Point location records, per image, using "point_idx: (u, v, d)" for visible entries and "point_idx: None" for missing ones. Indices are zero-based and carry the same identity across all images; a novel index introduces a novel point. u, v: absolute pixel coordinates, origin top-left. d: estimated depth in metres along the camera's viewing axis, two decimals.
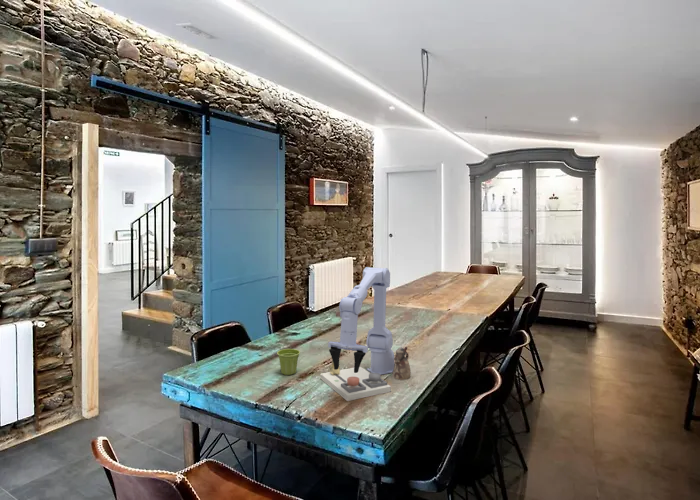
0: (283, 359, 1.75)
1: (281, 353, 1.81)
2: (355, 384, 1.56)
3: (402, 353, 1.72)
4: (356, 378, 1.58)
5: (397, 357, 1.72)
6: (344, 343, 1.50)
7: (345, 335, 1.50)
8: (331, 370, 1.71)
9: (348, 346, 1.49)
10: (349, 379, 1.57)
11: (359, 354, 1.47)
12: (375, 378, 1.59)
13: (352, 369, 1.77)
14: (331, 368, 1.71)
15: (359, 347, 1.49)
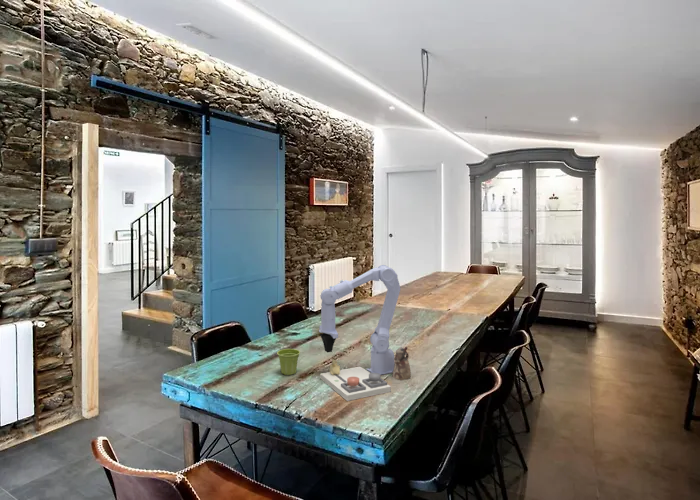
0: (283, 359, 1.75)
1: (281, 353, 1.81)
2: (355, 384, 1.56)
3: (402, 353, 1.72)
4: (356, 378, 1.58)
5: (397, 357, 1.72)
6: (321, 328, 1.75)
7: (322, 322, 1.74)
8: (331, 370, 1.71)
9: (323, 331, 1.74)
10: (349, 379, 1.57)
11: (325, 337, 1.73)
12: (375, 378, 1.59)
13: (352, 369, 1.77)
14: (331, 368, 1.71)
15: (330, 333, 1.71)
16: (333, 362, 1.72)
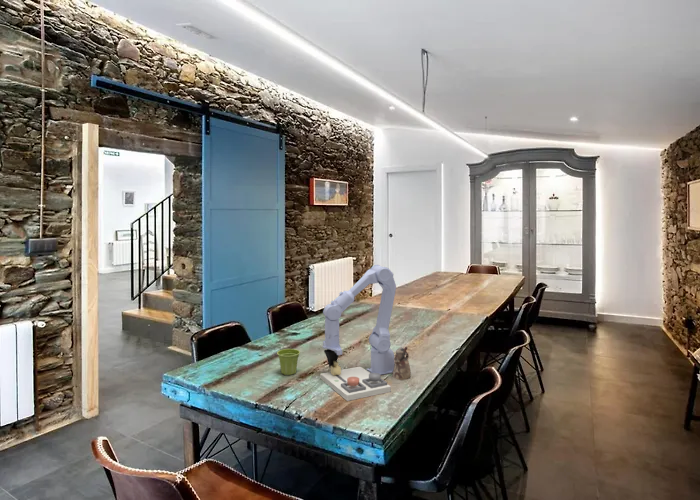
0: (283, 359, 1.75)
1: (281, 353, 1.81)
2: (355, 384, 1.56)
3: (402, 353, 1.72)
4: (356, 378, 1.58)
5: (397, 357, 1.72)
6: (325, 344, 1.72)
7: (325, 338, 1.72)
8: (332, 371, 1.70)
9: (327, 347, 1.71)
10: (349, 379, 1.57)
11: (328, 353, 1.70)
12: (375, 378, 1.59)
13: (352, 369, 1.77)
14: (332, 369, 1.70)
15: (334, 350, 1.68)
16: (334, 363, 1.71)
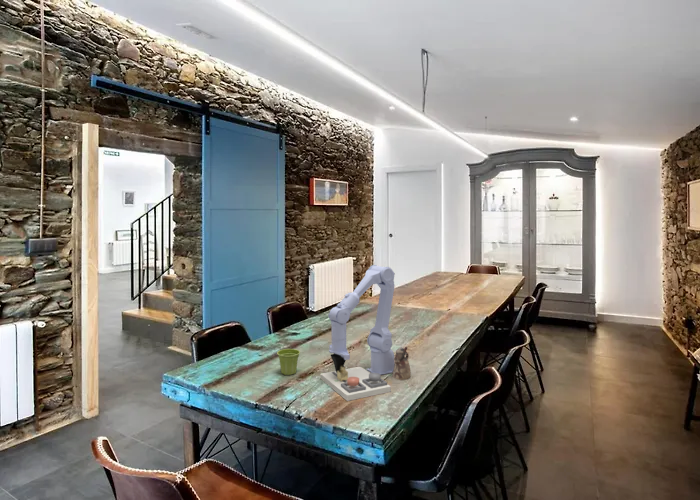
0: (283, 359, 1.75)
1: (281, 353, 1.81)
2: (355, 384, 1.56)
3: (402, 353, 1.72)
4: (356, 378, 1.58)
5: (397, 357, 1.72)
6: (332, 348, 1.66)
7: (332, 342, 1.66)
8: (339, 376, 1.65)
9: (334, 352, 1.65)
10: (349, 379, 1.57)
11: (335, 358, 1.65)
12: (375, 378, 1.59)
13: (352, 369, 1.77)
14: (339, 374, 1.65)
15: (341, 354, 1.62)
16: (341, 367, 1.65)
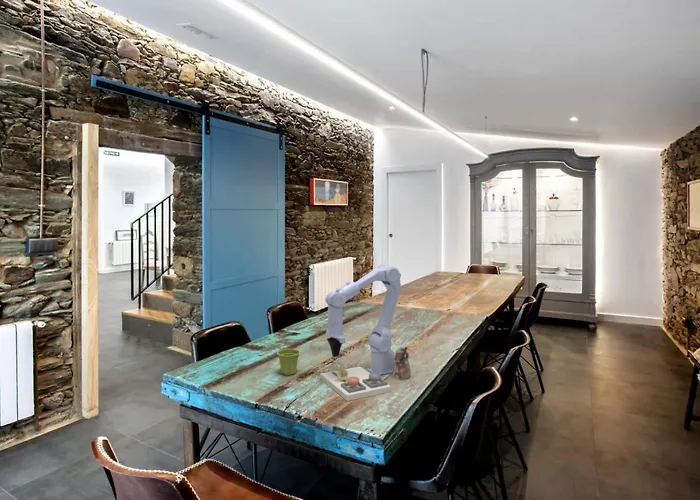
0: (283, 359, 1.75)
1: (281, 353, 1.81)
2: (355, 384, 1.56)
3: (402, 353, 1.72)
4: (356, 378, 1.58)
5: (397, 357, 1.72)
6: (328, 332, 1.69)
7: (328, 325, 1.68)
8: (339, 376, 1.65)
9: (330, 335, 1.68)
10: (349, 379, 1.57)
11: (331, 341, 1.67)
12: (375, 378, 1.59)
13: (352, 369, 1.77)
14: (339, 374, 1.65)
15: (337, 337, 1.65)
16: (341, 367, 1.65)
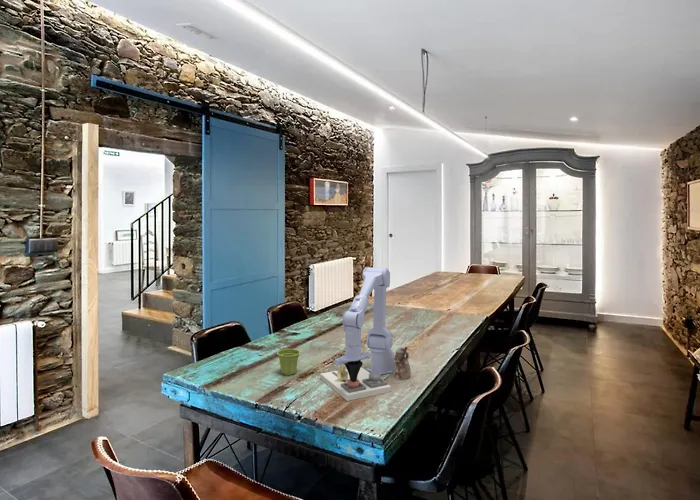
0: (283, 359, 1.75)
1: (281, 353, 1.81)
2: (355, 386, 1.56)
3: (402, 353, 1.72)
4: (356, 380, 1.58)
5: (397, 357, 1.72)
6: None
7: None
8: (339, 376, 1.65)
9: None
10: (349, 381, 1.57)
11: None
12: (375, 378, 1.59)
13: None
14: (339, 374, 1.65)
15: None
16: (341, 367, 1.65)
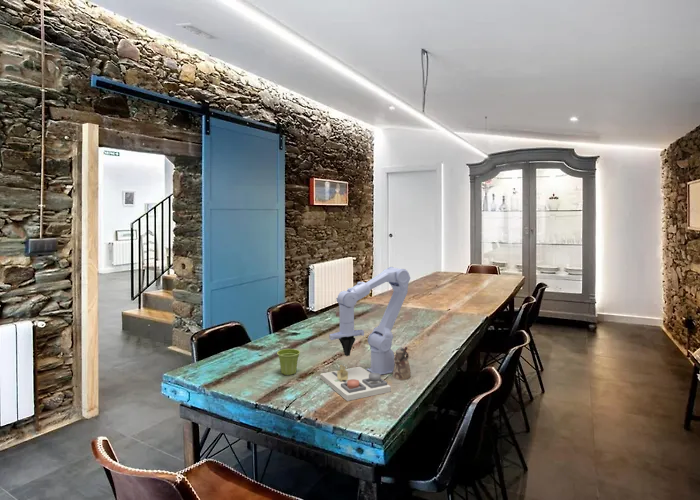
0: (283, 359, 1.75)
1: (281, 353, 1.81)
2: (355, 387, 1.56)
3: (402, 353, 1.72)
4: (356, 381, 1.58)
5: (397, 357, 1.72)
6: None
7: None
8: (339, 376, 1.65)
9: None
10: (349, 382, 1.57)
11: None
12: (375, 378, 1.59)
13: (352, 369, 1.77)
14: (339, 374, 1.65)
15: None
16: (341, 367, 1.65)
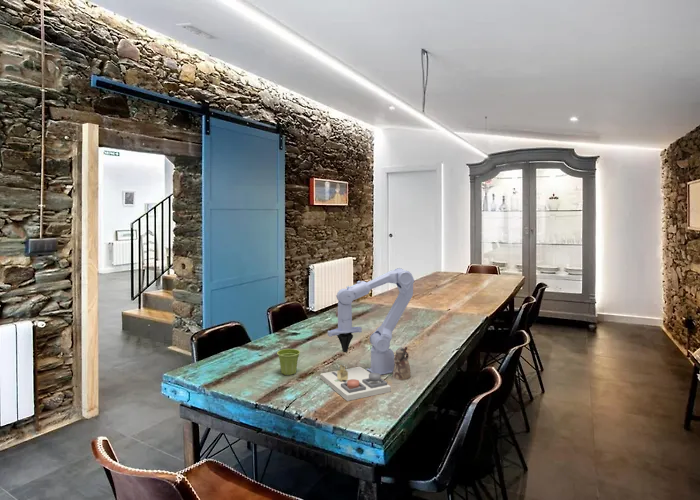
0: (283, 359, 1.75)
1: (281, 353, 1.81)
2: (355, 387, 1.56)
3: (402, 353, 1.72)
4: (356, 381, 1.58)
5: (397, 357, 1.72)
6: None
7: None
8: (339, 376, 1.65)
9: None
10: (349, 382, 1.57)
11: None
12: (375, 378, 1.59)
13: (352, 369, 1.77)
14: (339, 374, 1.65)
15: None
16: (341, 367, 1.65)
